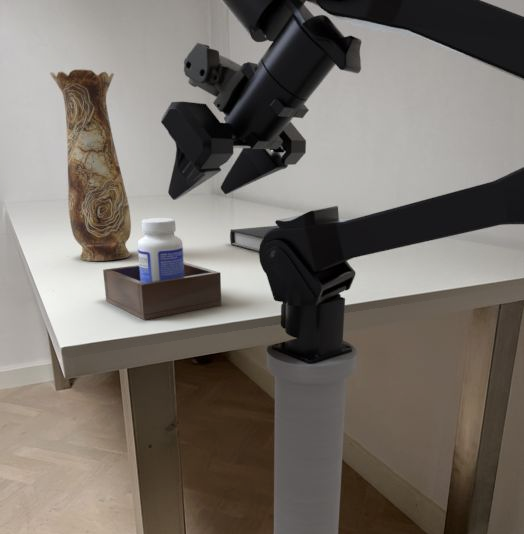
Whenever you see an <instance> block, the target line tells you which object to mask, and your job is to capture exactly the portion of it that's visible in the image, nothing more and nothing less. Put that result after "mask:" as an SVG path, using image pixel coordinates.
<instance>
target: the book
mask: <svg viewBox="0 0 524 534" xmlns="http://www.w3.org/2000/svg"><path fill="white" fill-rule="evenodd" d="M274 228H278V226H277V225H269V226H258V227H257V226H256V227H245V228H235V229H234V228H233V229H230V230H229V231H230V233H229V242H230V245H232V246H234V247H235V246H236V247H238V248H242V249H247V250H250V251H253V252H258V253H259V249H260V244H261V242H262V240H263V236H264V235H265V234H266V233H267V232H268V231H270V230H272V229H274Z"/></svg>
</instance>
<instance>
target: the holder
mask: <svg viewBox="0 0 524 534" xmlns="http://www.w3.org/2000/svg"><path fill="white" fill-rule="evenodd" d="M102 273H103V282H104V283H103V284H104V290H105V291H104V292H105V293H104V294H105V302H106V303H108V304H111V305H113V306H115V307H117V308H119V309H121V310H123V311H125V312H127V313H129V314H131V315H133V316H135V317H136V318H139V319H140V320H144V321H146V320H151V319H157V318H161V317H162V318H163V317H167V316H172V315H176V314H181V313H187V312H192V311H197V310H203V309H207V308H212V307H213V308H214V307H218V306H222V282H221V281H222V280H221V279H222V277H221V272H220V271H217V270H213V269H209V268H206V267H202V266H199V265H196V264H194V263H193V264H192V263H189V262H186V261H184V277H179V278H172V279H166V280H159V281H153V282H146V283H143V282H141V281H140V269H139V264H135V265H128V266H120V267H114V268H113V267H112V268H106V269H103V270H102Z"/></svg>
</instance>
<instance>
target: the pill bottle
mask: <svg viewBox="0 0 524 534" xmlns="http://www.w3.org/2000/svg"><path fill="white" fill-rule="evenodd" d="M141 231H142V233H143V234H144V236H143V237H141V238H139V240H138V241H137V254H138V255H137V256H138V265H139V269H140V281H141V282H143V283H146V282H153V281H159V280H166V279H172V278H179V277H184V262H185V261H184V247H183V241H182V239H181V237H178V236H176V234H175V232H176V231H177V227H176V219H174V218H171V217H150V218H143V219H142V220H141Z"/></svg>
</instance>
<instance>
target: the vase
mask: <svg viewBox="0 0 524 534" xmlns="http://www.w3.org/2000/svg"><path fill="white" fill-rule="evenodd" d="M49 74H50V76H51V78H52V79H53V81H54V82H55V84H56V85H57V87H58V88H59V90H60V91H61V94H62V97H63V102H64V103H63V104H64V110H65V120H66V121H65V123H66V145H67V194H68V195H67V200H68V201H67V202H68V203H67V205H68V215H69V223H70V229H71V232H72V236H73V238H74V240H75V241H76V243H77V244H78V245H80V246H81V253H80V257H79V259H80V260H81V261H86V262H87V261H88V262H106V261H115V260H121V259H125V258H129V257H131V253H130V251H129V249H128V248H127V246H126V244H127V242H128V241H129V239H130V237H131V233H132V232H131V231H132V221H131V211H130V205H129V200H128V196H127V192H126V187H125V183H124V179H123V175H122V170H121V168H120V162H119V158H118V154H117V151H116V146H115V141H114V137H113V133H112V127H111V122H110V118H109V112H108V111H109V110H108V106H107V95H108V91H109V89H110V86H111V84H112V83H111V82H112V80H113V78H114V76H115V74H114V72H110V73H108V72H107V71H105V70H104V71H100V72H99V73H96V72H94V71H93V70H92V69H87V68H73V69H70V71H69V73H66V72H65V71H63V70H59V71H57V74H56V73H55V72H53V71H49Z"/></svg>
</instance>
